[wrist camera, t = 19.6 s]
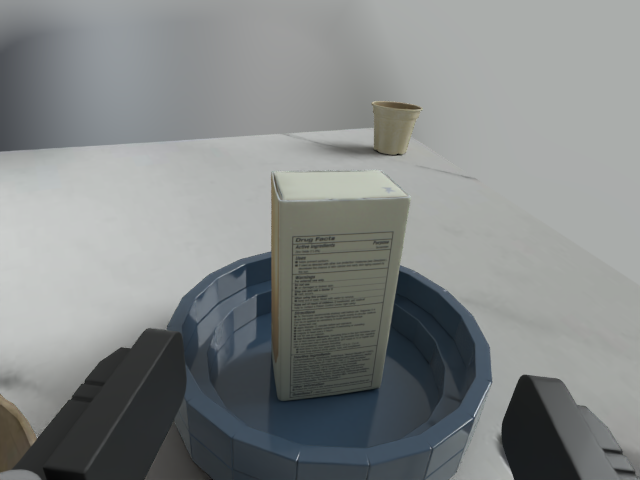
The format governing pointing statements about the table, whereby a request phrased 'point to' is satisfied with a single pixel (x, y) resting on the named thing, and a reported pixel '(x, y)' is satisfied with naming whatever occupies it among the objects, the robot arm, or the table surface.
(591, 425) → the robot arm
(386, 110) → the flower pot
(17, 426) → the bowl
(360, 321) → the cosmetic box
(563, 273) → the table surface
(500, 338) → the table surface
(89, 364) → the table surface
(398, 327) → the serving bowl
